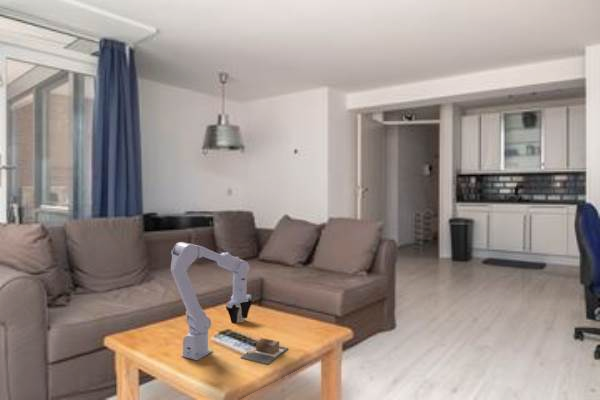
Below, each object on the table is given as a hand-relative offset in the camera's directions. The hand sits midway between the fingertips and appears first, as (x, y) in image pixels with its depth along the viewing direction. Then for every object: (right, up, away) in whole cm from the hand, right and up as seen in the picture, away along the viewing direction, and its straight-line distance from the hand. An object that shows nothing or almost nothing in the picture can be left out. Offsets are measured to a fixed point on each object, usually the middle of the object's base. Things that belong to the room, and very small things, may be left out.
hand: (239, 320), depth 170 cm
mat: (+12, -10, -11) cm, 19 cm away
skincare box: (-5, -8, +26) cm, 28 cm away
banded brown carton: (+13, -9, -9) cm, 18 cm away
